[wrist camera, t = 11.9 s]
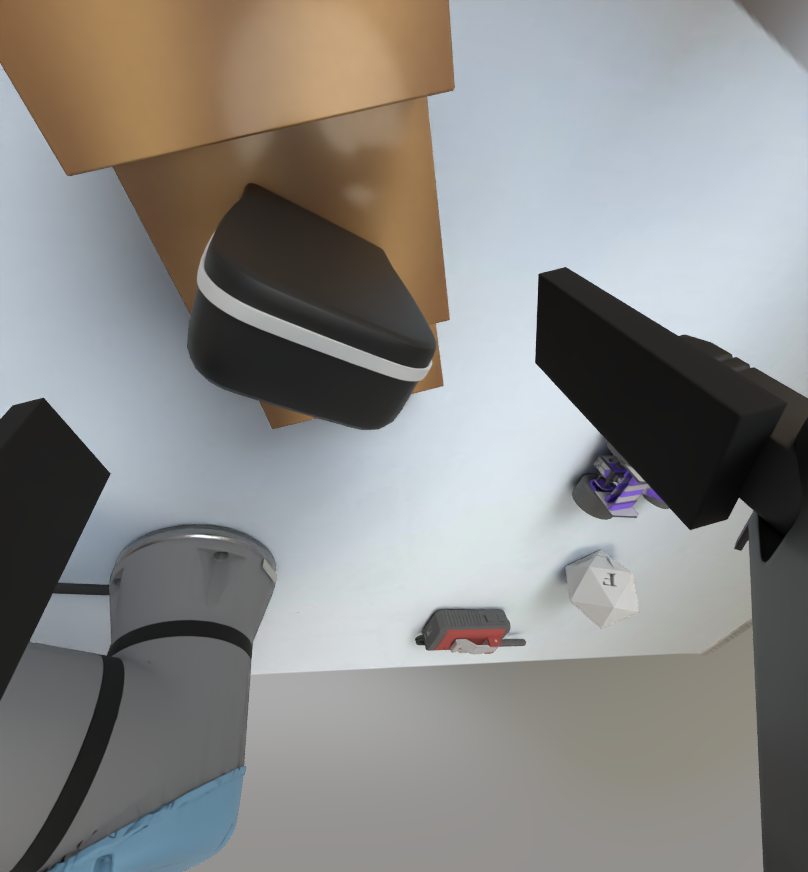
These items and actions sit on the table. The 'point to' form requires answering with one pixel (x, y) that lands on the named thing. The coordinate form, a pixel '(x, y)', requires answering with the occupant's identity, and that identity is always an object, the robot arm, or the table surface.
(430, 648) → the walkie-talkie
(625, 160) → the table surface
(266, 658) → the table surface
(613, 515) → the toy race car
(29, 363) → the table surface
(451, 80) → the shelf riser
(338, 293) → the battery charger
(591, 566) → the die
